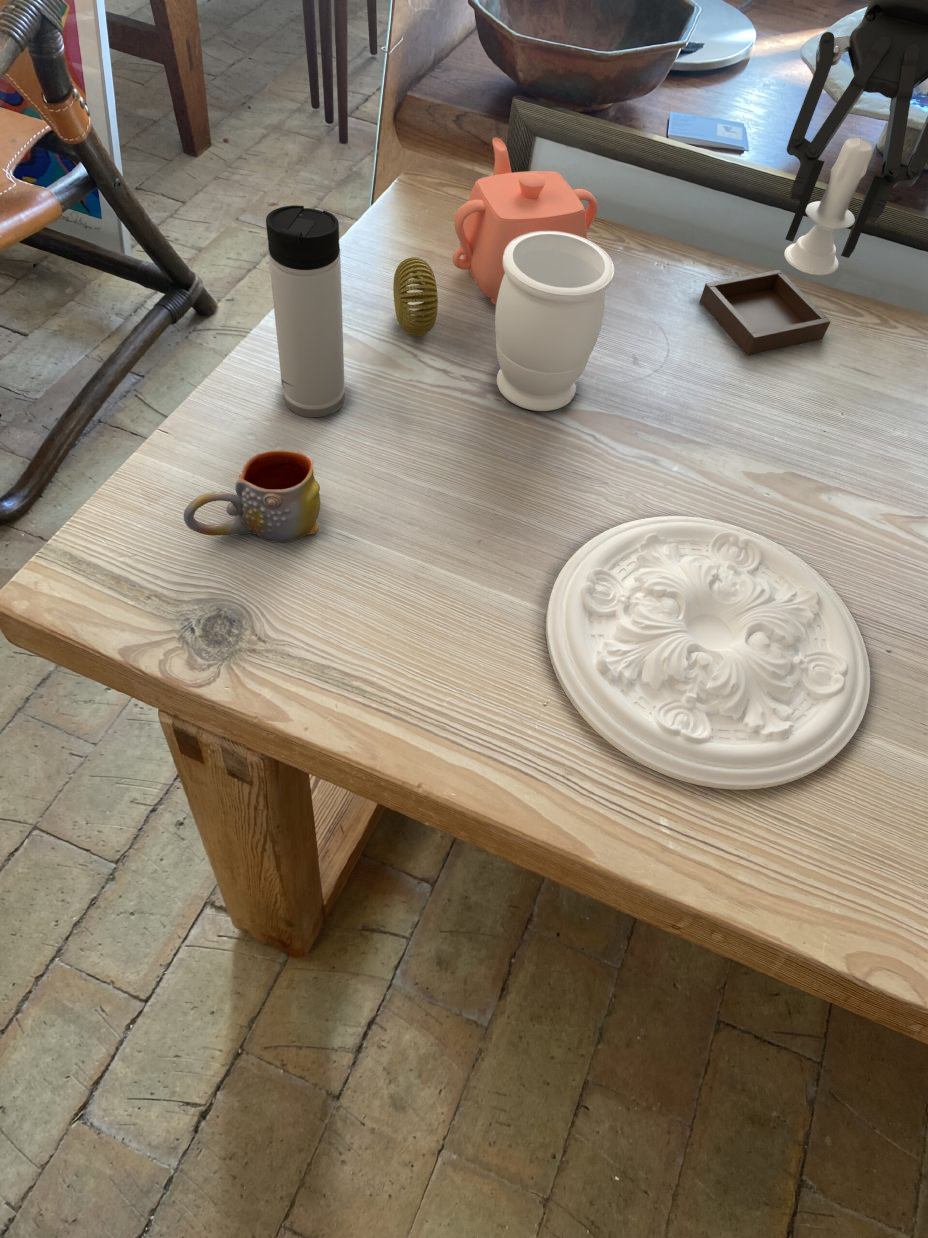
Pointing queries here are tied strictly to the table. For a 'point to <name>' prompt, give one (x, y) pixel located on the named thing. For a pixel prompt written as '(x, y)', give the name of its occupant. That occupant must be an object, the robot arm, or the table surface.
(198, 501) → the mug
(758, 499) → the table surface
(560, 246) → the jar
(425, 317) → the sculpture
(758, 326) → the tray
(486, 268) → the teapot
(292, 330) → the travel mug
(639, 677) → the ceiling medallion
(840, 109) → the robot arm
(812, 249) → the candle
